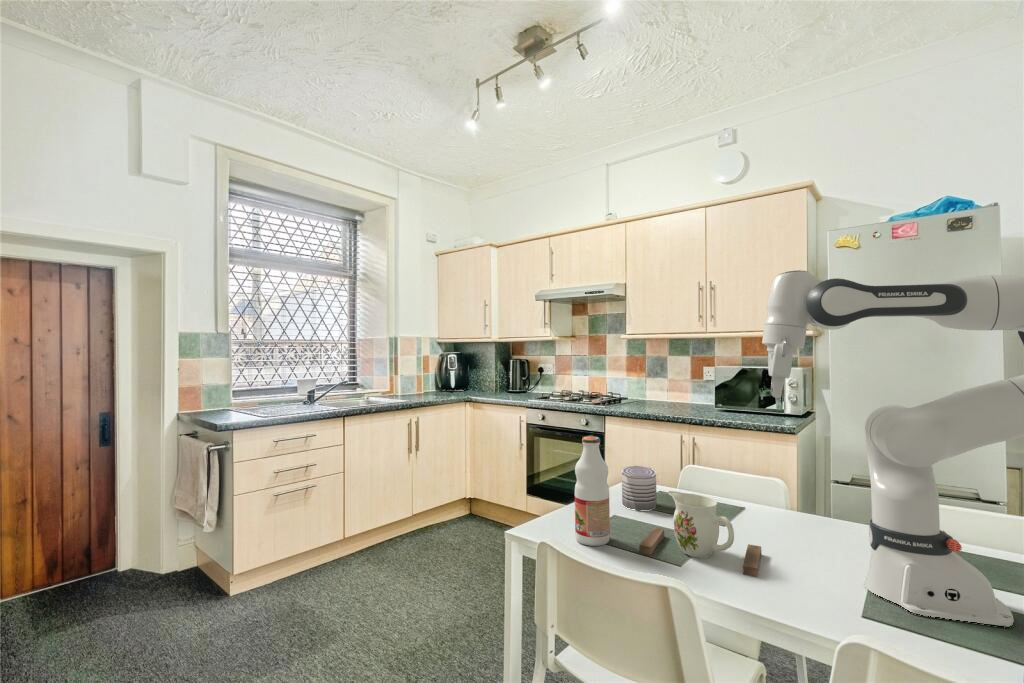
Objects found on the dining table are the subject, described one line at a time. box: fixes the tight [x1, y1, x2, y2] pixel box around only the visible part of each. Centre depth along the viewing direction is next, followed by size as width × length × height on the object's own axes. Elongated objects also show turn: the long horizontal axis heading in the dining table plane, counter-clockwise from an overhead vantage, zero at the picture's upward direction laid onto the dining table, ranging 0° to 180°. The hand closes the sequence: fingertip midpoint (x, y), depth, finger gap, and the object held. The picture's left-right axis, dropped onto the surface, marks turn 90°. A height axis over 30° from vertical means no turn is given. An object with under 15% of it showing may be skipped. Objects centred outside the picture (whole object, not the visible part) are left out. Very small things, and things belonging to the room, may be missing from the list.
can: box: [620, 465, 658, 510], centre depth 159 cm, size 11×11×12 cm
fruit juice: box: [574, 435, 611, 547], centre depth 130 cm, size 9×9×28 cm
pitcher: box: [667, 490, 735, 559], centre depth 121 cm, size 11×18×14 cm, turn 36°
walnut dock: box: [638, 527, 762, 578], centre depth 121 cm, size 27×14×2 cm, turn 59°
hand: (775, 396), depth 113 cm, fingers open, 8 cm apart
